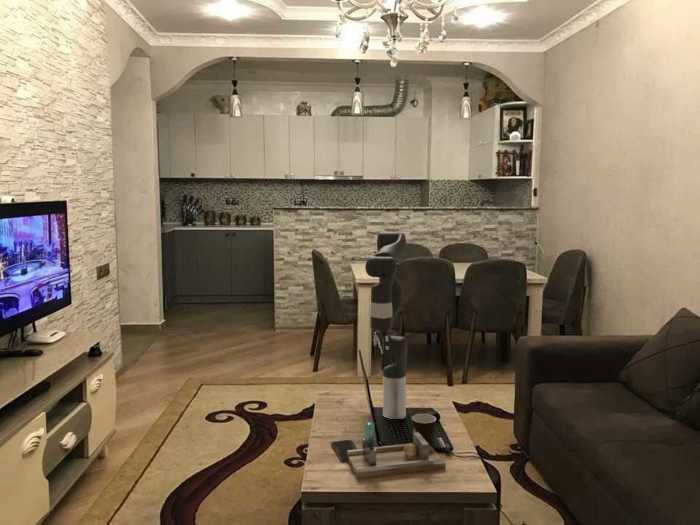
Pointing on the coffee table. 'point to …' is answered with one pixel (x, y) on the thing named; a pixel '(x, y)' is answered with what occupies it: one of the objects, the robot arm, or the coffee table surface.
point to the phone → (343, 449)
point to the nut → (410, 450)
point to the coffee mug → (424, 426)
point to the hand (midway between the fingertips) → (381, 360)
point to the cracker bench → (396, 460)
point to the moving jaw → (369, 444)
